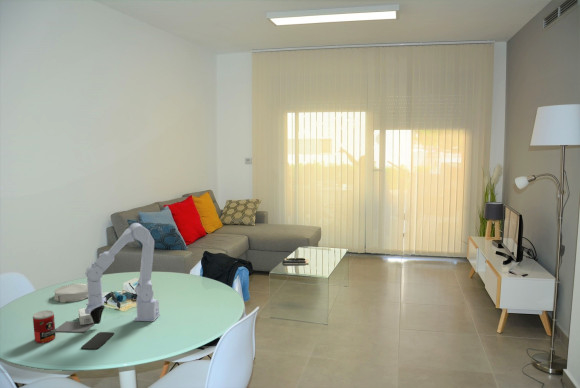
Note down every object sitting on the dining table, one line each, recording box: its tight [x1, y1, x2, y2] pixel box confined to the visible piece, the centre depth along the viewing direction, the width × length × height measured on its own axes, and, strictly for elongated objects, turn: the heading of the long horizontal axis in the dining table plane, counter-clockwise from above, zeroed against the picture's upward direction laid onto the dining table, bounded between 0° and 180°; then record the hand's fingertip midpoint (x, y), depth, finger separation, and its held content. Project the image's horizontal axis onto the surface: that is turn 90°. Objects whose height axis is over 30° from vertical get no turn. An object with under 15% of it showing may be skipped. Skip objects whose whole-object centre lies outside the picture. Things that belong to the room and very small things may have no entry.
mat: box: [55, 320, 95, 334], centre depth 199 cm, size 14×10×1 cm
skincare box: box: [78, 307, 94, 325], centre depth 206 cm, size 6×4×12 cm
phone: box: [80, 331, 115, 351], centre depth 186 cm, size 7×1×15 cm
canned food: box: [32, 310, 56, 344], centre depth 187 cm, size 8×8×11 cm
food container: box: [53, 283, 88, 303], centre depth 238 cm, size 20×20×7 cm
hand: (97, 323), depth 198 cm, fingers closed
